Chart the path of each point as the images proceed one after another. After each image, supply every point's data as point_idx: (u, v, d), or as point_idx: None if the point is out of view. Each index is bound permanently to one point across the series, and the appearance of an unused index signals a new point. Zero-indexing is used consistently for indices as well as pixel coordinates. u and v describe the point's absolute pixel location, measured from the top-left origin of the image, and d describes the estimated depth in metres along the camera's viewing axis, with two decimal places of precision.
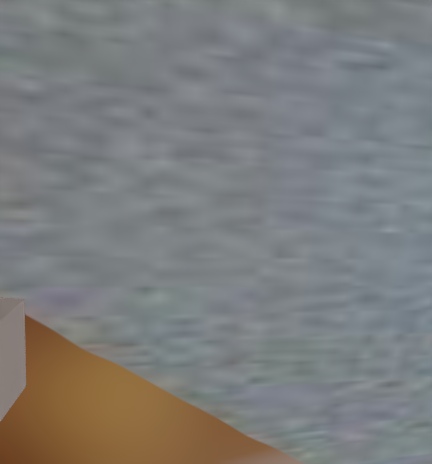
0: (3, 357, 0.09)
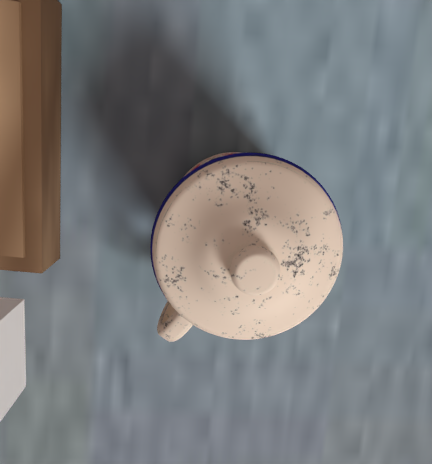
0: (3, 357, 0.09)
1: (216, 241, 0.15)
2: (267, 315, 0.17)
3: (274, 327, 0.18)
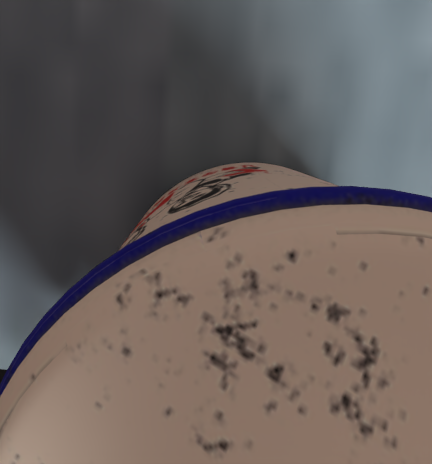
0: None
1: None
2: None
3: None
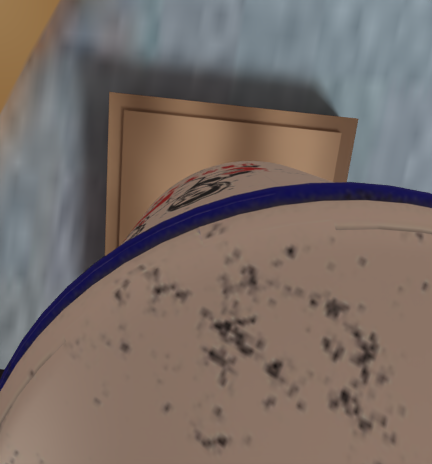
0: None
1: None
2: None
3: None
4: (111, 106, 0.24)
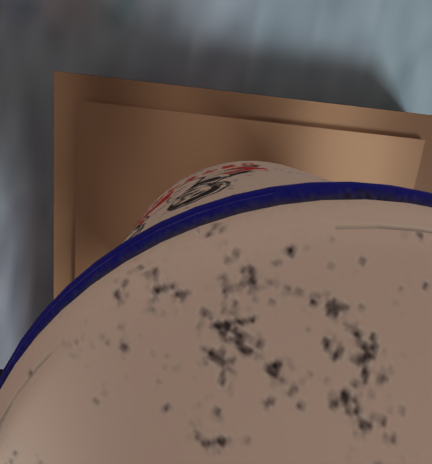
0: None
1: None
2: None
3: None
4: (57, 94, 0.15)
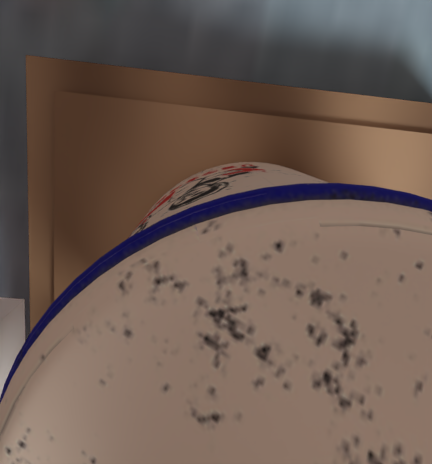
0: (3, 357, 0.09)
1: None
2: None
3: None
4: (31, 83, 0.12)
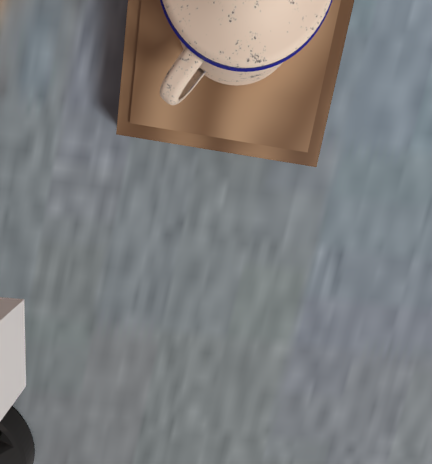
0: (3, 357, 0.09)
1: None
2: (262, 26, 0.18)
3: (269, 47, 0.19)
4: None
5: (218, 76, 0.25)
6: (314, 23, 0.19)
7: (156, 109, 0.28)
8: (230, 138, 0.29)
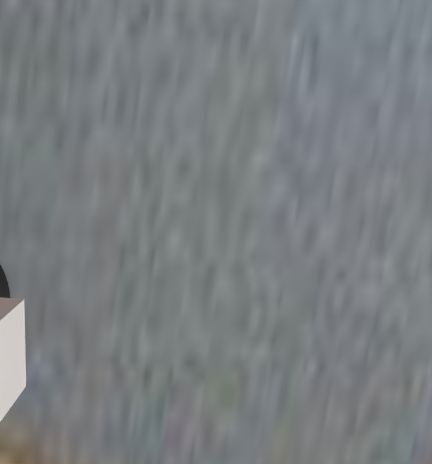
0: (3, 357, 0.09)
1: None
2: None
3: None
4: None
5: None
6: None
7: None
8: None
